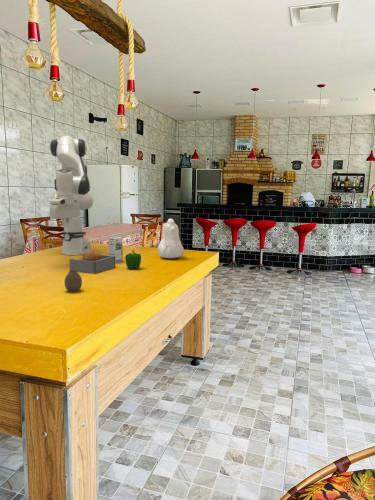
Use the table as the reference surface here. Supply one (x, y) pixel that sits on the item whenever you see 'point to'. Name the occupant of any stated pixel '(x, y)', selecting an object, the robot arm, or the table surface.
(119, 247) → the syrup box
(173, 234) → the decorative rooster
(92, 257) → the onion
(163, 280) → the table surface
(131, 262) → the bell pepper
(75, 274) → the vase
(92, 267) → the box
